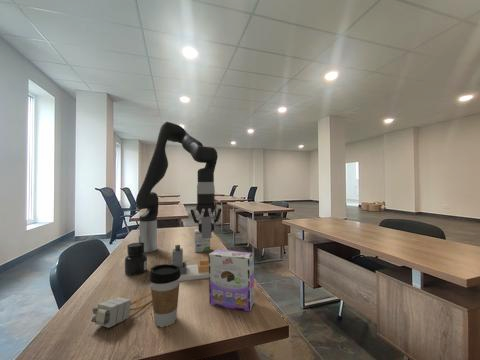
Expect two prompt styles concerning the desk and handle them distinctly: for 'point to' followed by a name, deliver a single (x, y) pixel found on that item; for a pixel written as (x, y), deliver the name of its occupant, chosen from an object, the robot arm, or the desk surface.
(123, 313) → the electrical component
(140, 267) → the ink bottle
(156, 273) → the coffee cup
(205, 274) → the dock
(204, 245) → the ink box
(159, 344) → the desk surface
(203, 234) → the plug
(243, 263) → the candy box
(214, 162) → the robot arm
